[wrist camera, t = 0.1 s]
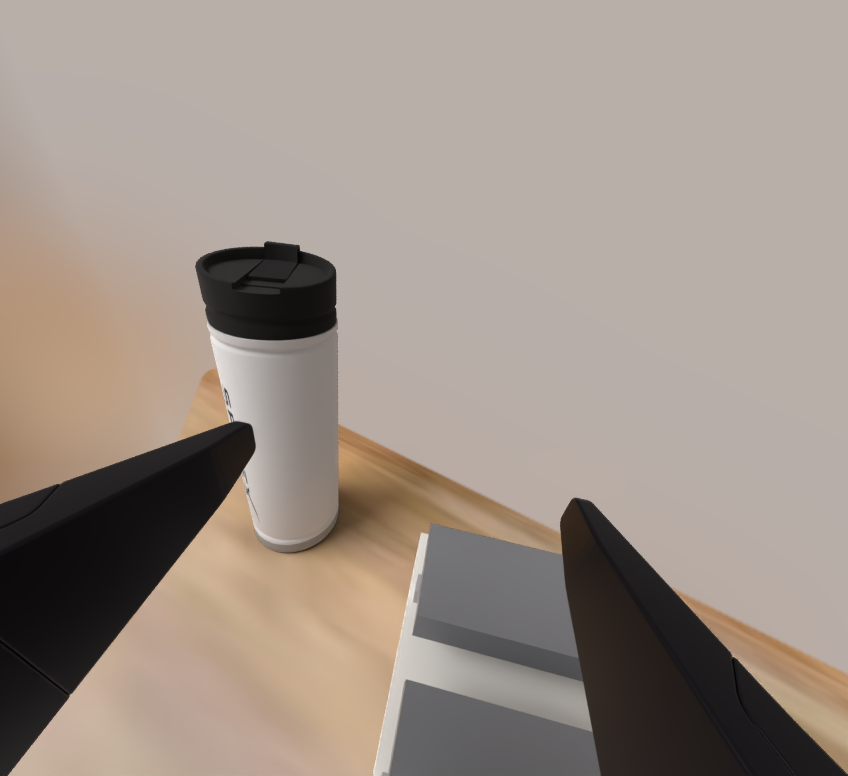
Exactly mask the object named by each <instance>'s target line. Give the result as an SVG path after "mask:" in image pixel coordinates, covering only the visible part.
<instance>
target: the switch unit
mask: <svg viewBox="0 0 848 776" xmlns="http://www.w3.org/2000/svg"><path fill="white" fill-rule="evenodd" d="M428 535H429V534H425V533H421V535H420V540H419V544H418V549H417V553H416V558H415V563H414V568H413V573H412V578H411V583H410V589H409V594H408V599H407V604H406V609H405V614H404V619H403V624H402V629H401V634H400V639H399V644H398V649H397V654H396V659H395V664H394V669H393V675H392V680H391V685H390V690H389V695H388V700H387V705H386V710H385V715H384V720H383V725H382V730H381V735H380V740H379V745H378V750H377V755H376V761H375V766H374V771H373V776H388V771H389V765H390V760H391V754H392V748H393V743H394V737H395V731H396V725H397V720H398V714H399V708H400V703H401V697H402V691H403V686H404V681H405V680H406V679H408V680H411V681H415V682H418V683H422V684H425V685H429V686H432V687H436V688H439V689H443V690H446V691H450V692H454V693H457V694H461V695H464V696H468V697H471V698H475V699H478V700H482V701H485V702H489V703H492V704H496V705H499V706H503V707H507V708H510V709H514V710H517V711H521V712H524V713H528V714H531V715H535V716H538V717H542V718H545V719H549V720H552V721H556V722H559V723H563V724H567V725H570V726H574V727H577V728H581V729H584V730H588V731H591V732H592V726H591V721H590V716H589V710H588V705H587V700H586V695H585V689H584V684H583V682H582V681H579V680H575V679H571V678H567V677H564V676H560V675H556V674H553V673H549V672H545V671H542V670H538V669H534V668H531V667H527V666H523V665H520V664H516V663H512V662H509V661H505V660H501V659H498V658H494V657H490V656H486V655H483V654H479V653H475V652H472V651H468V650H464V649H461V648H457V647H453V646H450V645H446V644H442V643H439V642H435V641H431V640H428V639H424V638H420V637H417V636H413V635H412V633H413V626H414V620H415V614H416V608H417V602H418V595H419V589H420V583H421V577H422V570H423V564H424V558H425V552H426V546H427V540H428Z"/></svg>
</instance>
